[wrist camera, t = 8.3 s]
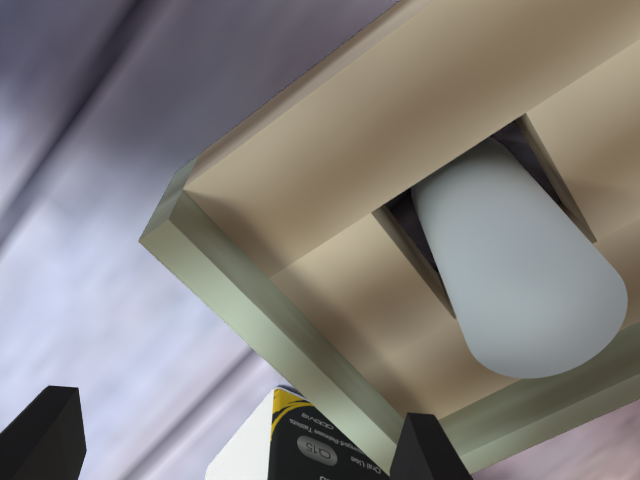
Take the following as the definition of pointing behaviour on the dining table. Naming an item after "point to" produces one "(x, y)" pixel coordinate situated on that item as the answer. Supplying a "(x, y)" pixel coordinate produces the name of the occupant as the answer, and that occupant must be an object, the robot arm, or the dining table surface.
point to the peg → (516, 266)
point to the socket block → (388, 235)
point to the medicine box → (291, 446)
